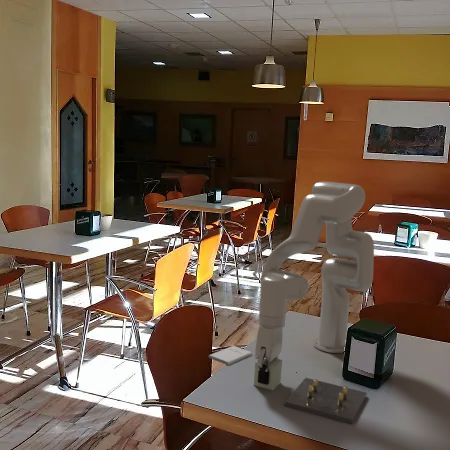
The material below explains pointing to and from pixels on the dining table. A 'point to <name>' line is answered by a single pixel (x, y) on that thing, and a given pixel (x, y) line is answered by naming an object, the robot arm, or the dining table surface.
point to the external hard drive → (230, 355)
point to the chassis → (327, 400)
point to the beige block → (270, 374)
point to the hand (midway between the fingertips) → (267, 378)
